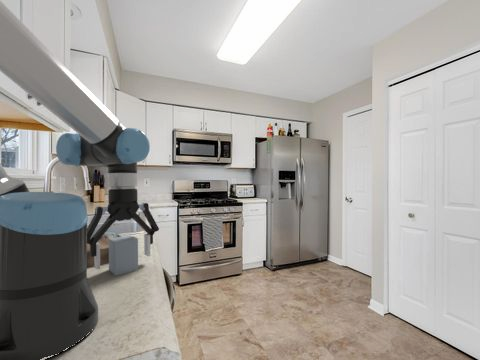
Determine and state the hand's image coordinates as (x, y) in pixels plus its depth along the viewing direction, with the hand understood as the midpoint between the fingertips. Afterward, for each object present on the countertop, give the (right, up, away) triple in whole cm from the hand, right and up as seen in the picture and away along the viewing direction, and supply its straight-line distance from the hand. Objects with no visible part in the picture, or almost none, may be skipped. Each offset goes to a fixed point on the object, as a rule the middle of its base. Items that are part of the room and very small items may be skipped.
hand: (124, 261), depth 66 cm
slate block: (0, -2, 0) cm, 2 cm away
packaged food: (-23, -3, +28) cm, 36 cm away
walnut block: (-12, -3, +12) cm, 17 cm away
